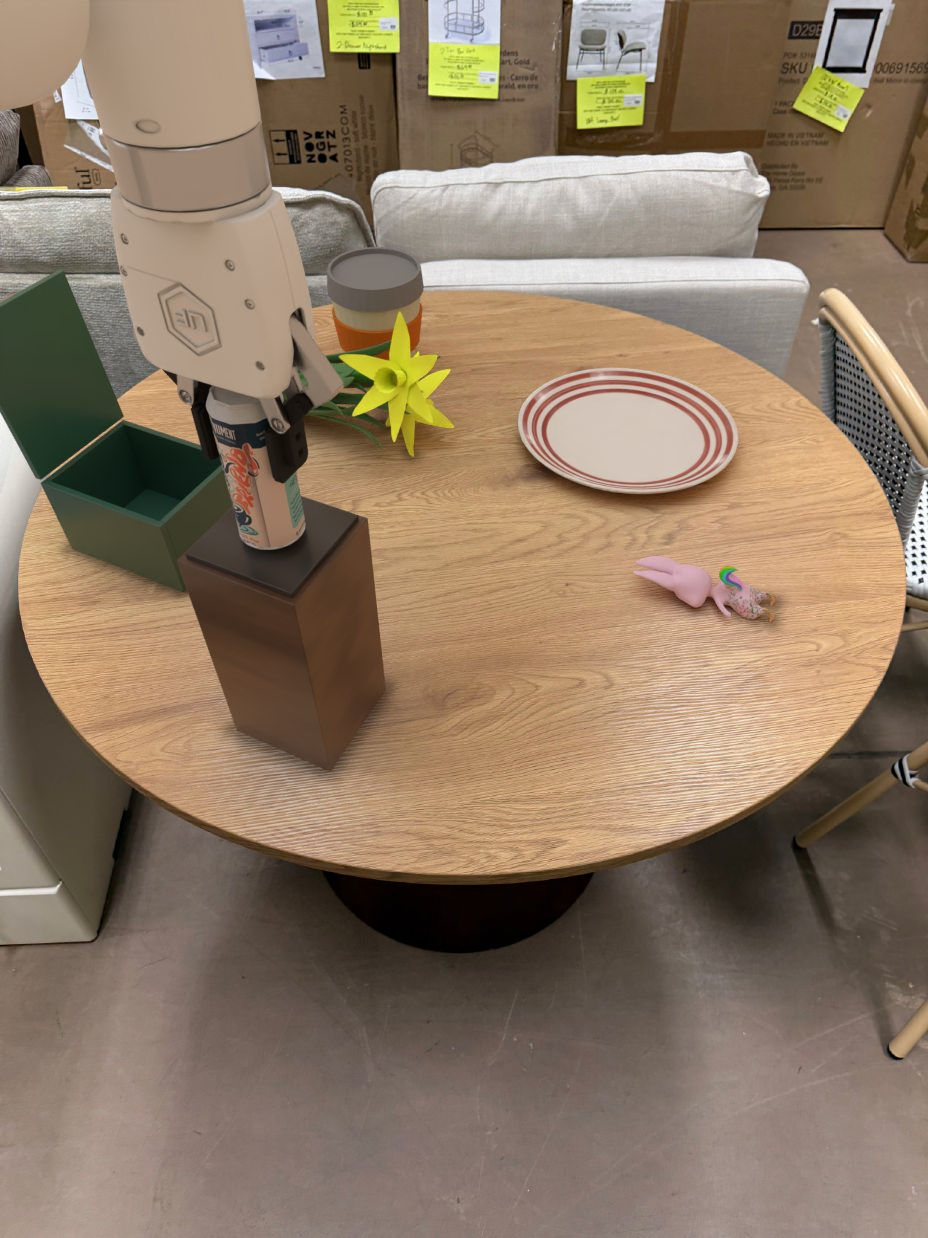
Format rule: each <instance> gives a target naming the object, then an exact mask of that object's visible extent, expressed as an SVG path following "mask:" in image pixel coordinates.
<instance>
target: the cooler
mask: <svg viewBox="0 0 928 1238" xmlns="http://www.w3.org/2000/svg"><path fill="white" fill-rule="evenodd" d="M40 485H41V488H42V490H43V491H44V494H45V496H46V498H47V501H48V502H49V504H50V506H51V509H52V510H53V512H54V515H55V516H56V519H57V521H58V522H59V525H60V528H61V529H62V531H63V533H64V536H65V537H66V539H67V541H68V544H69V546H70V548H71V550H74V551H76V552H78V553H81V554H84V555H86V556H89V557H92V558H94V559H98V560H99V561H102V562H105V563H107V564H110V565H112V566H115V567H117V568H120V569H122V570H125V571H127V572H130V573H132V574H135V575H137V576H140V577H143V578H145V579H147V580H151V581H153V582H156V583H158V584H160V585H163V586H165V587H168V588H171V589H173V590H176V591H179V592H181V593H186V591H187V588H186V586H185V583H184V580H183V577H182V574H181V571H180V569H179V566H178V563H177V560H178V559H179V558H180V557H181V556H182V555H183V554H184V553H185V552H186V551H187V550H188V549H189V548H190V547H191V546H192V545H193V544H194V543H195V542H196V541H197V540H198V539H200V538H201V537H202V536H203V535H204V534H205V533H206V532H207V531H208V530H209V529H210V528H211V527H212V526H213V525H214V524H215V523H216V522H217V521H218V520H219V519H220V518H221V517H222V516H223V515H224V514H225V513H226V512H227V511H228V510H229V509H230V508H231V507H232V502H231V498H230V494H229V491H228V487H227V483H226V479H225V475H224V471H223V468H222V464H221V460H220V456H219V457H218V458H216V459H214V460H211V459H208V458H205V457H204V456H203V452H202V449H201V445H200V443H195V442H192V441H189V440H186V439H183V438H180V437H177V436H175V435H171V434H168V433H165V432H162V431H159V430H156V429H154V428H150V427H147V426H144V425H141V424H138V423H134V422H132V421H128V420H126V419H121V420H120V421H118V422H117V423H116V424H115V425H113V426H112V427H111V428H109V429H108V431H107V432H106V431H105V432H104V433H103V435H100V436H99V438H96V439H95V440H94V441H92V442H91V444H88V446H86V447H85V448H83V450H81V451H79V453H78V454H75V455H74V457H71V458H70V460H67V462H65V464H62V465H61V466H60V467H58V468H57V470H54V471H53V472H52V473H50V475H49V476H48V477H45V479H43V480H41V482H40Z"/></svg>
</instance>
